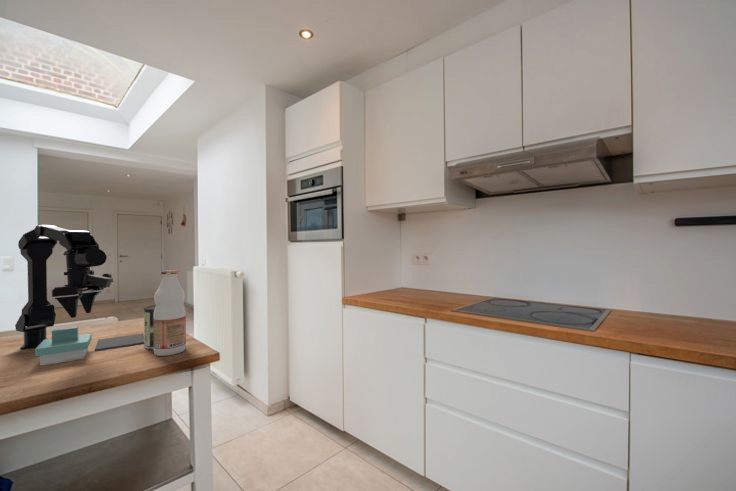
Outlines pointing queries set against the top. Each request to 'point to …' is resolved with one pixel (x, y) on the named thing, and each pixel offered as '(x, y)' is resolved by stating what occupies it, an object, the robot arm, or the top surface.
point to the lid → (63, 341)
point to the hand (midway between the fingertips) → (81, 315)
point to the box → (62, 357)
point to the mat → (119, 342)
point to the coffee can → (149, 327)
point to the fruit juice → (169, 316)
